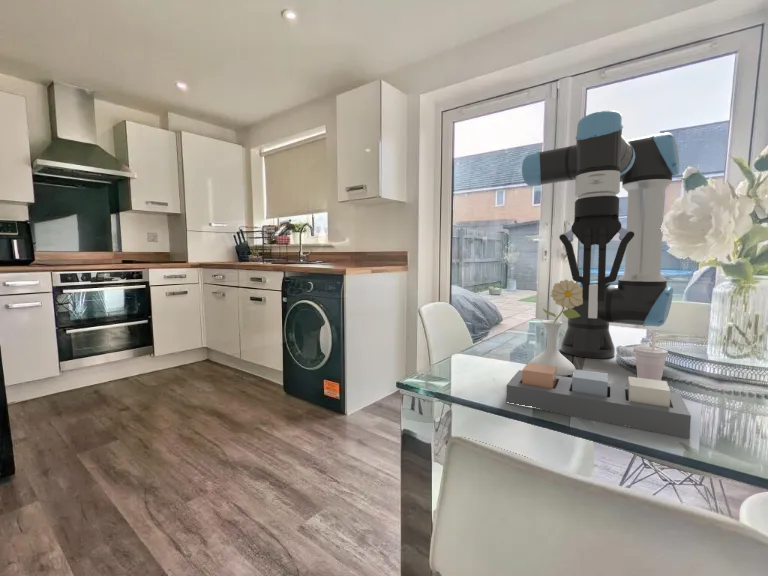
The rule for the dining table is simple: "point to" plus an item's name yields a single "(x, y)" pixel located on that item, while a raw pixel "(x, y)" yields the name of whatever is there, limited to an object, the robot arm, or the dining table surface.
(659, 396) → the key cream
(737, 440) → the dining table surface
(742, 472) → the dining table surface
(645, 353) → the smoothie
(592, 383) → the key slate
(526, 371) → the key terracotta
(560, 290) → the flower in vase
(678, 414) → the console
